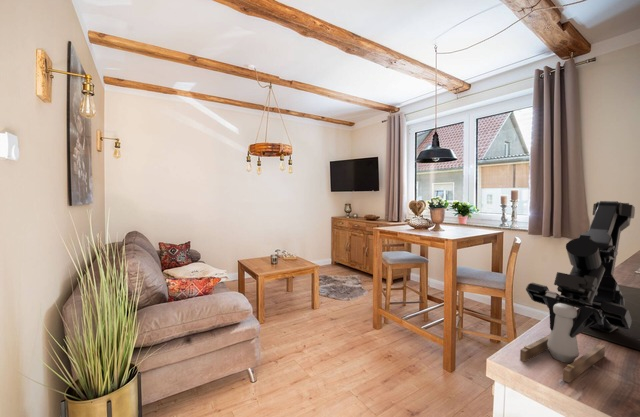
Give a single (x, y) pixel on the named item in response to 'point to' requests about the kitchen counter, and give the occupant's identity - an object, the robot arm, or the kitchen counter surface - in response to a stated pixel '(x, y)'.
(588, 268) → the robot arm
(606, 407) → the kitchen counter surface
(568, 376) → the pair of wooden rails
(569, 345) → the salt shaker
